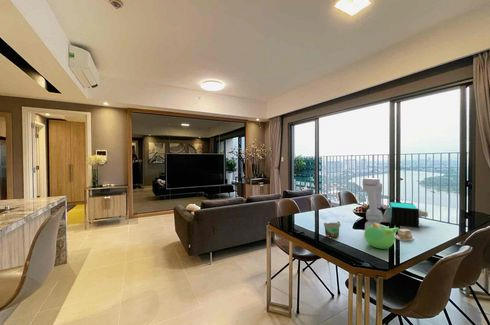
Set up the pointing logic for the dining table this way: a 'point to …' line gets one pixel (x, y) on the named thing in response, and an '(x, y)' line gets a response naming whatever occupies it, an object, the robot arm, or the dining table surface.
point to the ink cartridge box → (386, 215)
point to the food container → (332, 229)
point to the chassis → (403, 239)
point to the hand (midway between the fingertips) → (377, 215)
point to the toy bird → (380, 235)
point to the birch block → (404, 233)
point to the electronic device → (406, 214)
